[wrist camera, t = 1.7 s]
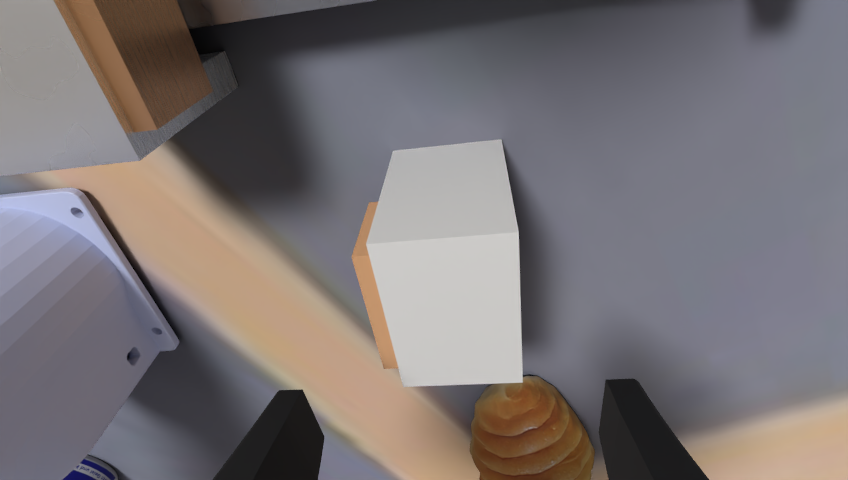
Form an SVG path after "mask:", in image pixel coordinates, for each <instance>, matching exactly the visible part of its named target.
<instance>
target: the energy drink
mask: <svg viewBox="0 0 848 480" xmlns="http://www.w3.org/2000/svg"><path fill="white" fill-rule="evenodd" d="M62 480H118V476H117V473H116V472H115V471H114V470H113V468H112V467H110V466H109V465H108V464H106V463H104V462H103V461H101V460H99V459H97V458H94V457H92V456H89V455H87V456H86V457H85V458H84V459H83V460H82V461H81V462H80V463H79V465H78V466H77V467H76V468H74V469H73V470H72V471H71V472H70V473H69V474H68V475H67V476H66V477H65V478H64V479H62Z"/></svg>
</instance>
